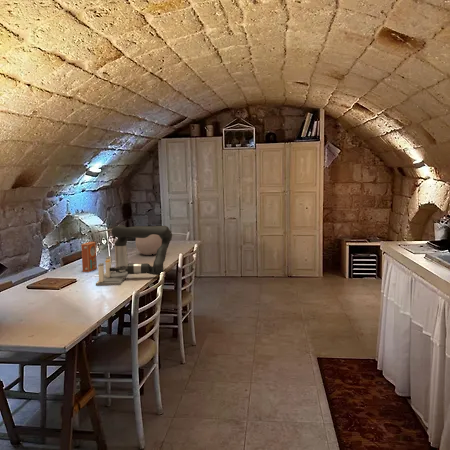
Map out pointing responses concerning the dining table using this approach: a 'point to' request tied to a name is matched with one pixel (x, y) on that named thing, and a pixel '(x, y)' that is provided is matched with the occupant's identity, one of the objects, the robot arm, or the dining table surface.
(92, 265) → the orange carton box
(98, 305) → the dining table surface
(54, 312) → the dining table surface
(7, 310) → the dining table surface
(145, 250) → the plant pot
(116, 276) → the base
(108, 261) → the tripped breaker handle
